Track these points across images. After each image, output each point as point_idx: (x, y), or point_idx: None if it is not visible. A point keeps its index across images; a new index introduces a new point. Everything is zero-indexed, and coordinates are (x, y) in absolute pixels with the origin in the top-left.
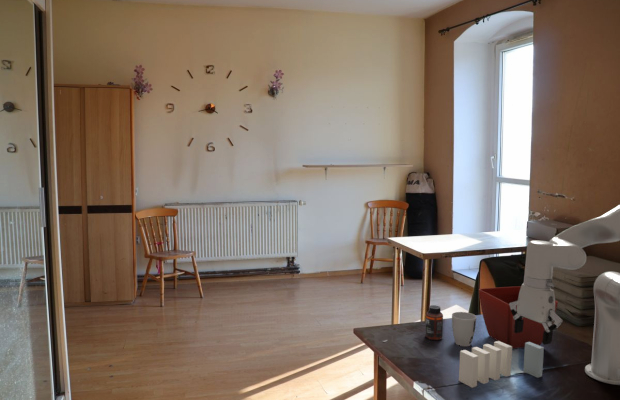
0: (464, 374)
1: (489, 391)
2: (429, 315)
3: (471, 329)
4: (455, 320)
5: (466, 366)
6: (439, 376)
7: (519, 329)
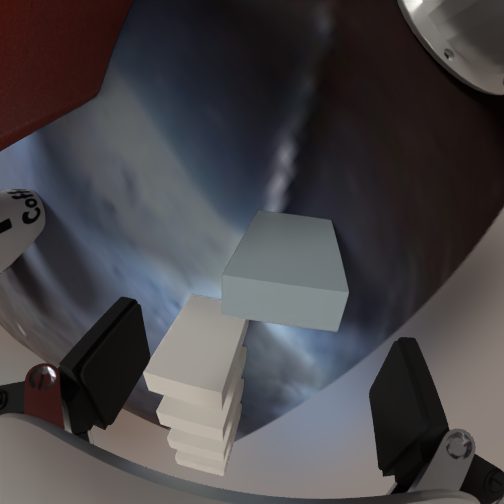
0: None
1: (277, 406)
2: None
3: (6, 241)
4: None
5: None
6: None
7: (134, 351)
